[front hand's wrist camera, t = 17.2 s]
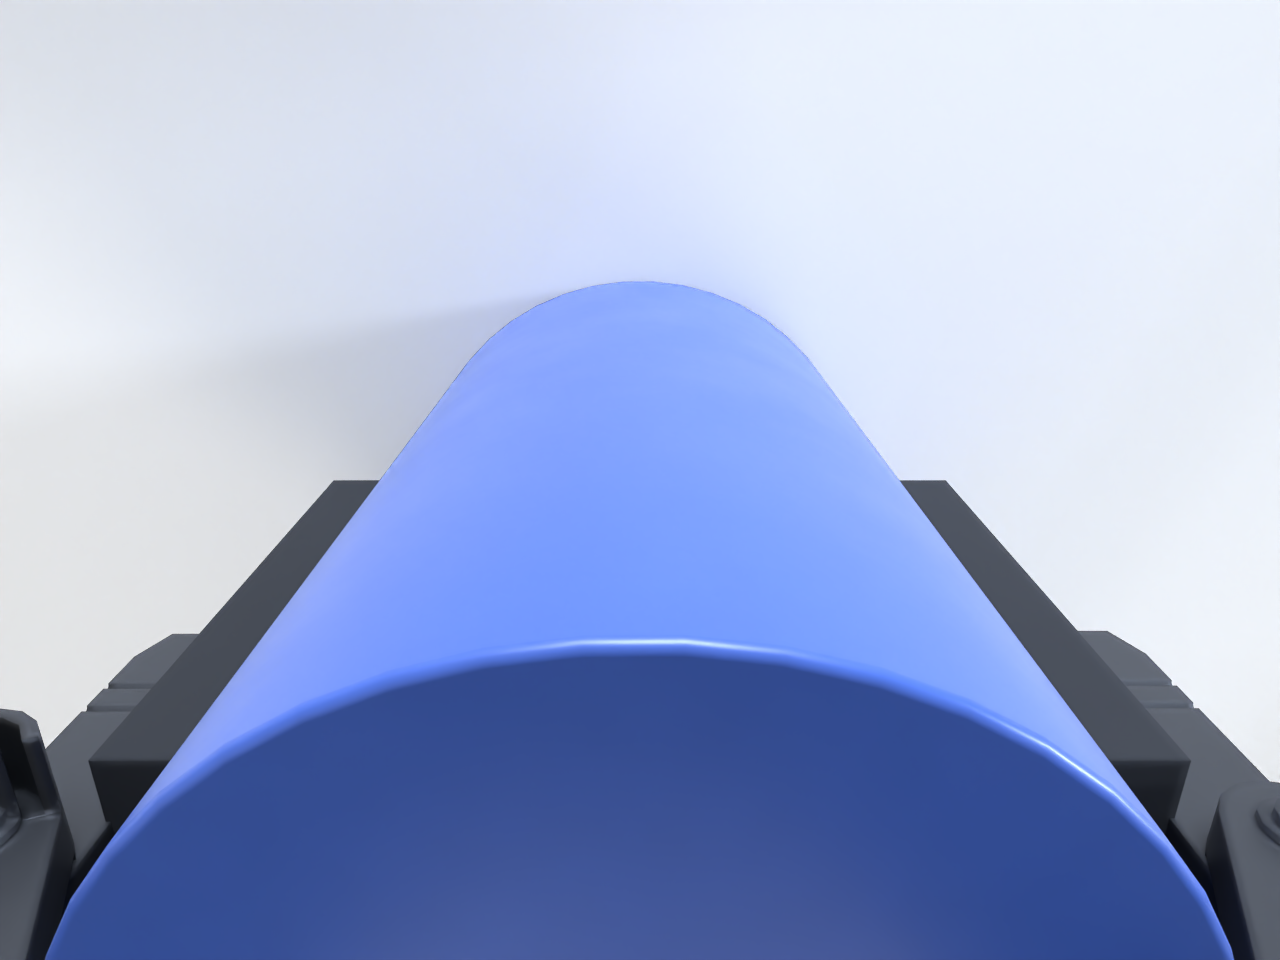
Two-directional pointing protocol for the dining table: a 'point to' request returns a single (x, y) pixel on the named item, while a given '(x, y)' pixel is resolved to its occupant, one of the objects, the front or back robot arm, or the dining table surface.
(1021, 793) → the canister
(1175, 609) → the dining table surface
